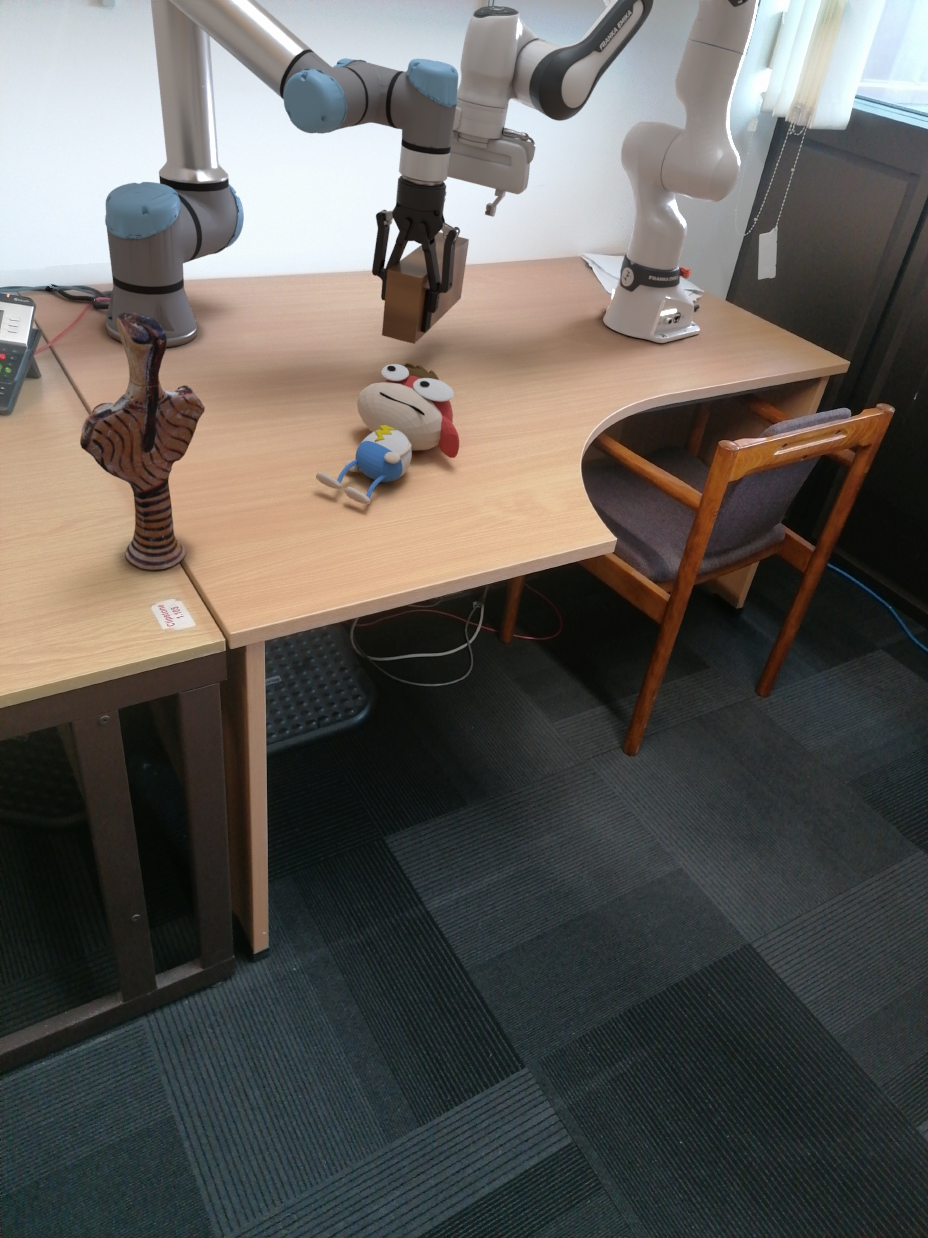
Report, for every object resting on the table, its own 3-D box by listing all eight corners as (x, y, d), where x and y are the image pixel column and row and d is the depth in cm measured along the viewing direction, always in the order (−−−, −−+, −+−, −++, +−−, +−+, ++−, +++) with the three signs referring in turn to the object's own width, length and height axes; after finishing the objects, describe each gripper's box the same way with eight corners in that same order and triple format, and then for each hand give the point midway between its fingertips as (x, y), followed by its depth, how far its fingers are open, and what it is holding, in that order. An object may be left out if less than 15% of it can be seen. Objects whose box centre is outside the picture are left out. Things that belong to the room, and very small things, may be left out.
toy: (278, 428, 121) (396, 343, 140) (277, 485, 128) (389, 398, 148) (391, 486, 117) (497, 391, 136) (384, 542, 124) (485, 444, 143)
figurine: (185, 519, 115) (170, 285, 96) (226, 544, 112) (219, 308, 93) (85, 564, 105) (47, 314, 86) (127, 593, 102) (97, 341, 83)
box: (414, 344, 148) (422, 278, 142) (381, 335, 149) (387, 269, 142) (460, 298, 169) (469, 238, 162) (431, 290, 170) (438, 231, 163)
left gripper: (487, 187, 138) (466, 331, 153) (374, 160, 141) (363, 304, 156) (473, 196, 133) (453, 345, 147) (356, 169, 135) (347, 318, 150)
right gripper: (541, 133, 150) (524, 219, 158) (428, 105, 153) (417, 191, 161) (533, 137, 145) (516, 226, 153) (416, 108, 148) (405, 197, 156)
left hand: (407, 324), depth 151 cm, fingers closed on box, 6 cm apart
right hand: (464, 208), depth 157 cm, fingers open, 8 cm apart
